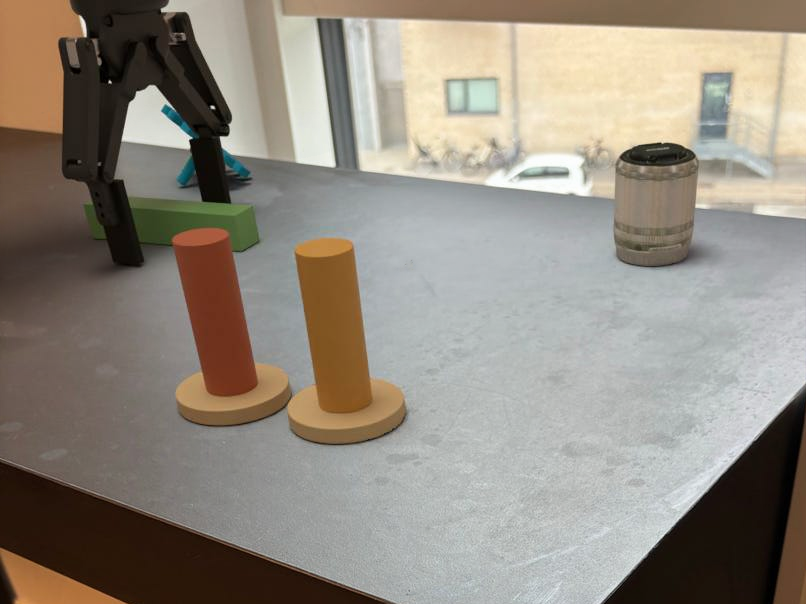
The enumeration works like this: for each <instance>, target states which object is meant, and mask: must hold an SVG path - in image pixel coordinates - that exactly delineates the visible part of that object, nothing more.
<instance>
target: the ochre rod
mask: <svg viewBox="0 0 806 604" xmlns="http://www.w3.org/2000/svg"><path fill="white" fill-rule="evenodd" d="M293 253H294V256H295V263H296V271H297V275H298V282H299V289H300V295H301V301H302V309H303V314H304V320H305V327H306V332H307V333H306V334H307V340H308V346H309V352H310V357H311V364H312V365H311V366H312V370H313V377H314V384H312V385H310V386H307V387H305V388H303V389H302V390H301V391H298V392H297V393H296V394H294V395H293V396H291V398H290V399H289V401H288V402H287V407H286V412H287V418H288V423H289V427H290V429H291V430H292V432H293V433H295V434H296V435H297V436H298V437H301V438H302V439H305V440H307V441H311V442H315V443H319V444H329V445H330V444H331V445H343V444H354V443H360V442H365V441H369V440H372V439H375V438H378V437H381V436H384V435H385V434H384V433H386V434H388V433H390V432H391V431H392V430H391V429H393V428H394V427H396V426H397V425H398V424H399V425H401V423H402V422H403V421H402V420H404V419H405V416H406V414H407V412H406V411H407V409H406V400H405V399H406V398H405V394H404V392H403V391H402V389H400V387H399V386H397V385H396V384H394V383H392V382H389V381H386V380H383V379H379V378H372V377H371V376H370V375H371V374H370V368H369V360H368V359H369V358H368V352H367V343H366V335H365V326H364V319H363V311H362V303H361V294H360V285H359V279H358V278H359V277H358V271H357V261H356V253H355V245H354V243H353V242H352V241H351V240H349V239H346V238H341V237H321V238H316V239H310V240H307V241H304V242H301V243H299V244H297V246H295V248H294V252H293ZM405 413H406V414H405ZM403 418H404V419H403ZM401 421H402V422H401ZM399 425H398V426H399ZM398 426H397V427H398ZM397 427H396V428H397ZM394 429H395V428H394ZM394 429H393V430H394ZM387 432H388V433H387ZM368 439H369V440H368Z"/></svg>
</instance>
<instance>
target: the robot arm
mask: <svg viewBox="0 0 806 604" xmlns="http://www.w3.org/2000/svg"><path fill="white" fill-rule="evenodd" d="M169 3H170V0H69V4H70V7H71V10H72V11H73V13H75V14H76V15H78V16H80V17H81V18H82V19H83V21H84V24H85V30H86V34H85V35H86V36H82V37H81V36H62V37H60V38H59V39H58V41H57V47H58V51H59V56H60V62H61V67H62V73H63V82H62V84H63V85H62V132H61V134H62V135H61V136H62V137H61V139H62V140H61V173H62V176H63V177H64V179H66V180H72V181H75V182H79V183H85V185H86V187H87V189H88V191H89V195H90V198H91V200H92V203H93V206H94V210H95V213H96V217H97V220H98V221H99V223H100V225H103V228H104V231H105V235H106V238H107V239H106V241H107V245H108V249H109V252H110V253H109V254H110V256H111V260H112V263H115V264H127V265H141V264H143V263H145V258H144V254H143V250H142V246H141V242H139V238H138V235H137V231H136V227H135V223H134V219H133V215H132V212H131V208H130V204H129V200H128V197H129V196H128V192H127V189H126V185H125V181H124V179H119V178H118V179H117V178H116V179H115V177H116V176H115V175H116V172H117V165H118V161H119V155H120V152H121V147H122V146H121V145H122V141H123V135H124V131H125V126H126V121H127V116H128V110H129V107H130V103H131V102H132V101H134V100H135V98H136V95H137V92H143V91H144V90H146V89H148V87H149V86H155V87H156V88H157V89H158V91H159V93H161V95H162V96H163V97H164V98H165V100H166V101H167V102H168V103H169V104H170V107H171V108H172V109H174V110H175V111H176V112H177V113H178V114H179V115H180V117H181V118H182V119H183V120H184V122H185V123H186V124H187V125H188V126H189V128H190V129H191V130H192V131H193V133H194V134H195V135H196V136H199V138H192V137H191V138H190V139H188V143H189V149H190V148H191V152H192V153H191V152H190V153H191V155H192V157H193V162H194V166H195V175H196V179H197V184H198V188H199V189H198V190H199V193H200V199H201V202H211V203H225V204H232V200H231V199H232V198H231V194H230V189H229V185H228V179H227V174H226V173H227V170H226V169H227V168H226V167H227V165H226V164H225V161H224V156H223V150H222V148H223V146H222V145H223V144H222V141H221V137H223V138H224V137H225V138H227V137H229V136H230V133H231V128H230V124H232V122H233V114H232V111H231V109H230V107H229V105H228V103H227V101H226V99H225V97H224V95H223V93H222V90H221V89H220V86H219V84H218V82H217V80H216V78H215V76H214V75H213V72H212V70H211V69H210V66H209V64H208V62H207V61H206V58H205V56H204V54H203V52H202V50H201V48H200V46H199V44H198V41H197V40H196V36H195V32H194V28H193V24H192V21H191V18H190V15H189V13H188V12H186V11H162V9H164V8H166V7H167V6H168V5H169ZM212 107H214V108H212ZM79 161H80V162H79ZM99 163H100V165H99Z"/></svg>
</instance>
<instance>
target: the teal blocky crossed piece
mask: <svg viewBox="0 0 806 604" xmlns="http://www.w3.org/2000/svg"><path fill="white" fill-rule="evenodd" d="M160 112H161V113H162V114H164V115H165V116H166V118H167V119H168V120H170V121H171V122H172V123H174V124H175V125H176V126H178V128H179V129H180V130H182V131H183V132H184V133H185V134H186V135H188V136H189V137H190V138H191V139H192V138H199V136H196V135H195V134H194V133H193V131H192V130H191V129H190V128H189V126H188V125H187V124H186V123H185V122H184V120H183V119H182V118H181V117H180V115H179V114H178V113H177V112H176V111H175V109H174V108H173V107H172V106H171V105H170V106H169V105H168V104H166V103H165V104H164V105H163V107H162V108H161V110H160ZM222 150H223V156H224V161H225V166H226V167H228V168H229V169H232V170H233V171H234V172H235V173H237V174H238V176H241V177H242V178H243V179H245V180H246V179H247V178H249V176H250V175H251V171H250V170H249V169H248V168H247V167H245V165H244V164H243V163H242V162H240V161H239V160H238V159H237V158H235V157H234V156H233V155H232V154H231V153H229V152H228V151H227V150H226V149H225V148H223V147H222ZM189 152H190V154H191V155H190V156H189V157H188V160H187V161H186V162H185V164H184V165H183V167H182V169H181V170H180V174H179V175H178V177H177V178H176V182H178V184H180V185H181V186H183V187H184V188H185V187H186V186H187V185H188V183H189V181H190V180H191V179H192V177H193V176H194V173H196V171H195V166H194V162H193V157H192V152H191V148H190V147H189Z"/></svg>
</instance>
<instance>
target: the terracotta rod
mask: <svg viewBox="0 0 806 604" xmlns="http://www.w3.org/2000/svg"><path fill="white" fill-rule="evenodd" d="M172 244H173V245H172V247H173V248H172V249H173V252H174V257H175V262H176V266H177V269H178V270H177V271H178V273H179V278H180V283H181V287H182V291H183V296H184V299H185V304H186V309H187V313H188V316H189V317H188V318H189V322H190V325H191V326H190V327H191V331H192V335H193V339H194V343H195V348H196V352H197V356H198V361H199V365H200V370H201V371H199V372H196V373H194V374H193V375H190V376H189V377H187V378H185V379H184V380H183V381H182V382H181V383H180V384H178V386H177V387H176V390H175V394H174V397H175V400H176V404H177V408H178V412H179V413H180V415H181V416H182V417H183V418H185V419H186V420H188V421H190V422H193V423H196V424H200V425H206V426H233V425H240V424H246V423H251V422H254V421H258V420H261V419H264V418H266V417H268V416H271V415H273V414H275V413H276V412H278V411H279V410H281V409H283V408H284V407H285V406H286V405H288V403H289V401H290V400H291V398H292V390H291V383H290V378H289V376H288V374H287V373H286V372H285V371H284V370H283V369H281V368H279V367H277V366H274V365H270V364H267V363H258V362H255V359H254V354H253V350H252V344H251V339H250V333H249V329H248V322H247V318H246V313H245V309H244V308H245V307H244V303H243V298H242V291H241V288H240V282H239V277H238V273H237V267H236V263H235V257H234V251H232V246H231V241H230V236H229V233H228V232H227V231H226V230H223V229H219V228H201V229H194V230H189V231H185V232H182V233H180V234H178V235H176V236H174V237H173V239H172Z"/></svg>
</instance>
